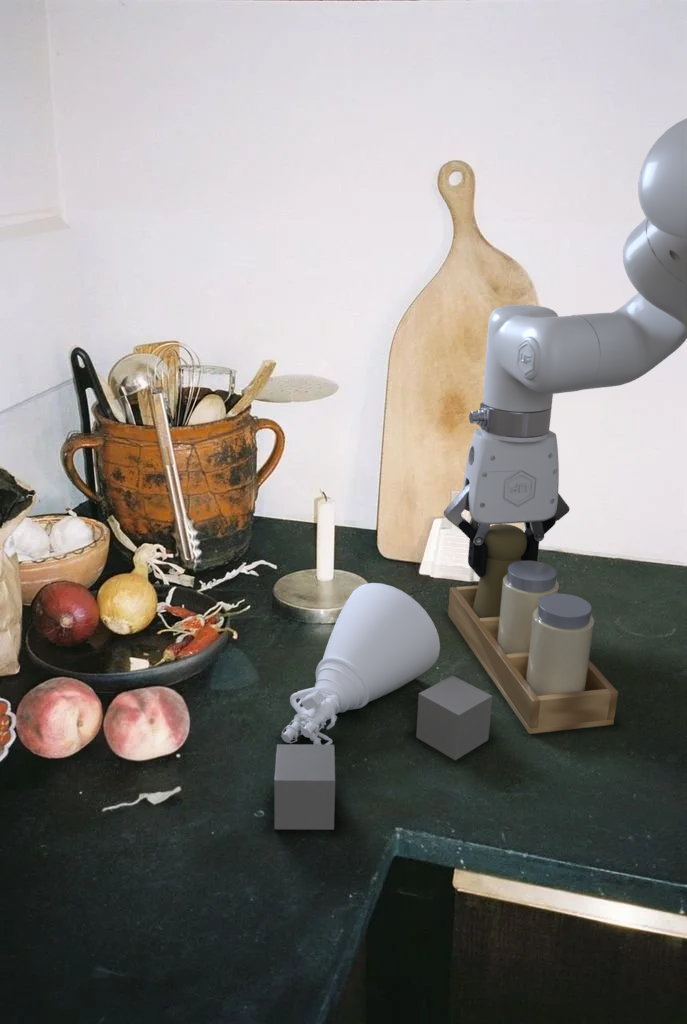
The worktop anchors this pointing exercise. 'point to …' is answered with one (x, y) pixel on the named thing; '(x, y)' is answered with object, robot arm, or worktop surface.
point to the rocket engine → (366, 657)
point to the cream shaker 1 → (522, 602)
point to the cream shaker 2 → (560, 645)
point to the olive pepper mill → (498, 566)
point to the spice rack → (512, 670)
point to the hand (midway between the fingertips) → (501, 569)
